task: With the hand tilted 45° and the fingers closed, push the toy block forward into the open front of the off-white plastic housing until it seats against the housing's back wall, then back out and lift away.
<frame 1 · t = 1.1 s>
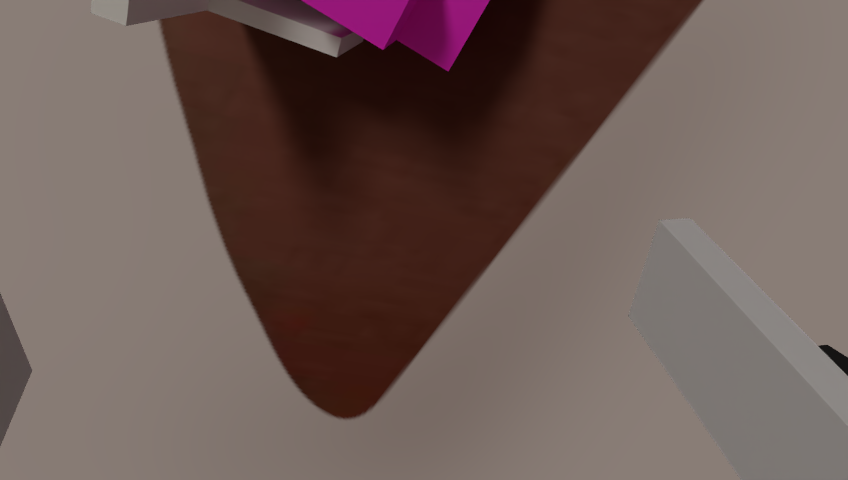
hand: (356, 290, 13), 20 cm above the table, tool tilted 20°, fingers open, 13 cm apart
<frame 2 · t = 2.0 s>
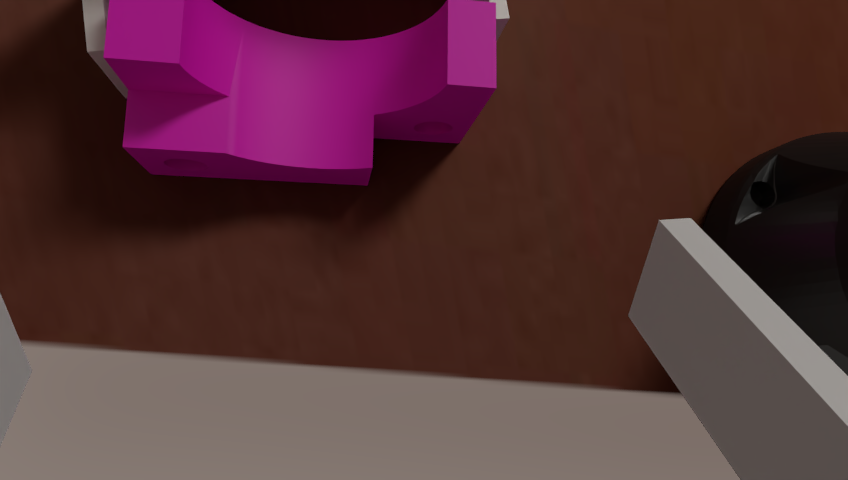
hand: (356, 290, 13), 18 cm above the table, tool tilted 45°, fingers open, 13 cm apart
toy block: (313, 125, 32), on the table
housing: (303, 17, 32), on the table
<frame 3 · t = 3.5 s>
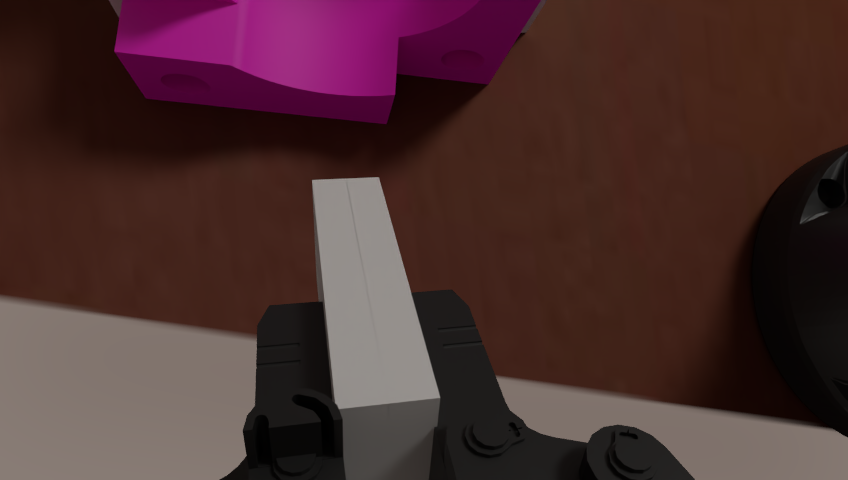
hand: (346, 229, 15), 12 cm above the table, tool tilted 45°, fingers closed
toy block: (328, 56, 29), on the table
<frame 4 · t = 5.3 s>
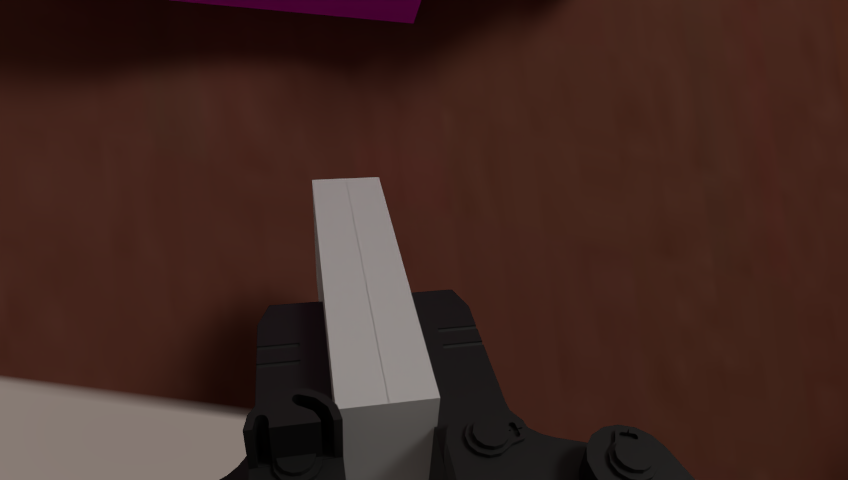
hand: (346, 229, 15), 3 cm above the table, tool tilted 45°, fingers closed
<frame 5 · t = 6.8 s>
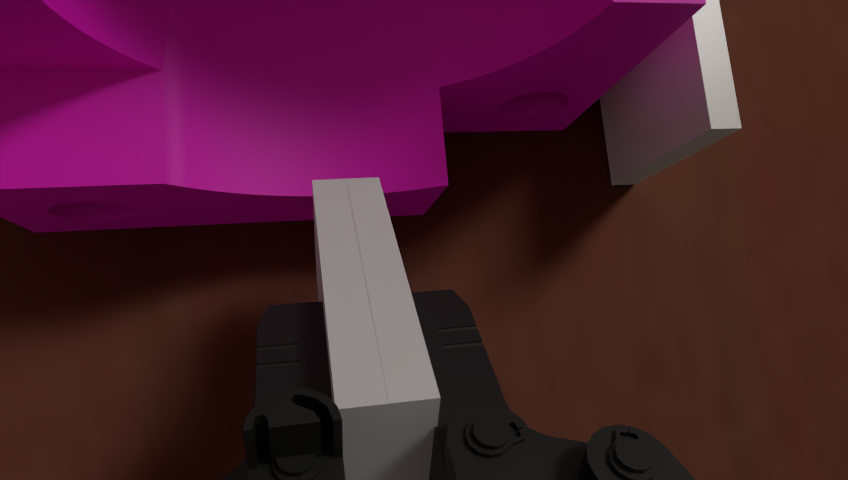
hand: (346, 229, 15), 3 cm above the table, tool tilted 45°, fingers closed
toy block: (319, 119, 19), on the table, touching gripper, housing
housing: (339, 80, 19), on the table
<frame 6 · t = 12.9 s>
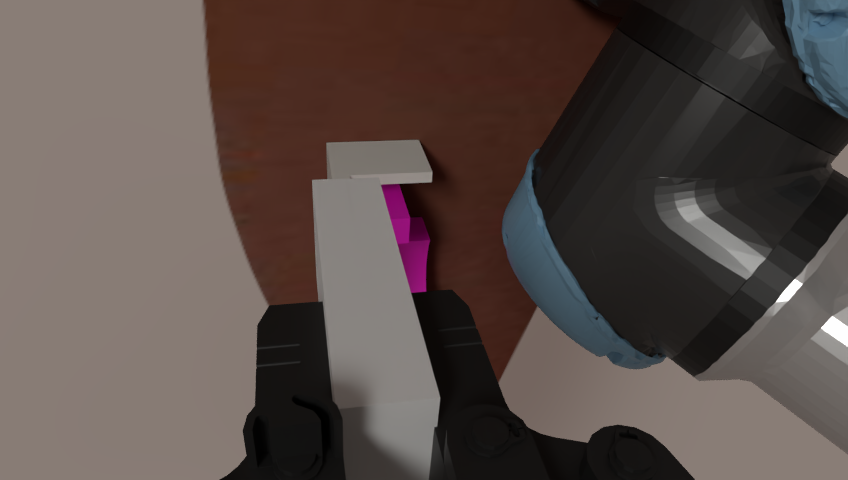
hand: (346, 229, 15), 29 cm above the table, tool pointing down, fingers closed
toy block: (382, 245, 52), on the table
housing: (370, 242, 51), on the table
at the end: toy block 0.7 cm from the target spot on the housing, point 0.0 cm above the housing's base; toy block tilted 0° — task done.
